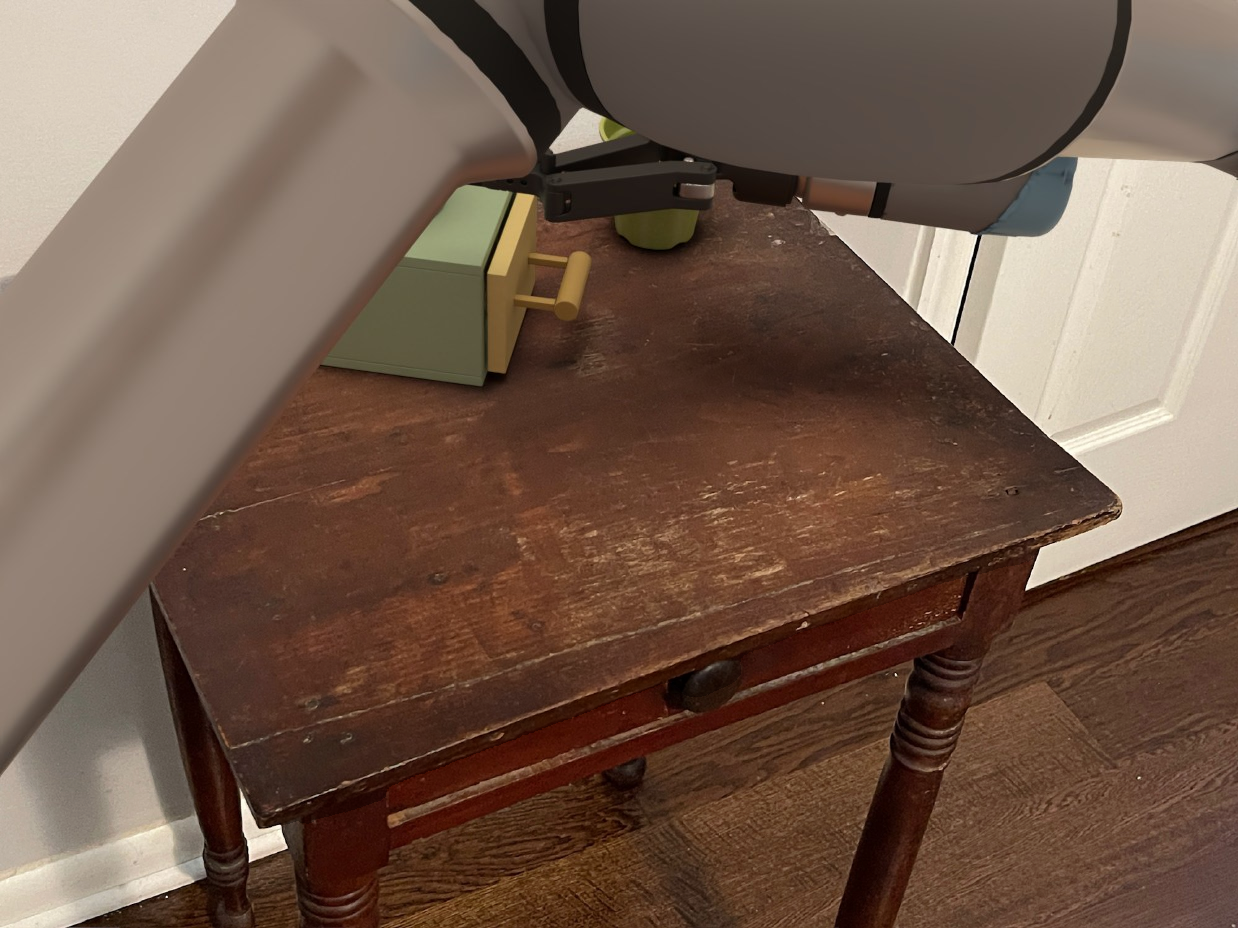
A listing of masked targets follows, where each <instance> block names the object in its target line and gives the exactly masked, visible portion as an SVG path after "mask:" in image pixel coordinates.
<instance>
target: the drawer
mask: <svg viewBox="0 0 1238 928" xmlns="http://www.w3.org/2000/svg"><path fill="white" fill-rule="evenodd" d="M537 225H538V197H537V196H534V195H530V194H522V193H517V195H516V198H515V201H514V203H513V206H512V209H511V211H510V214H509V217H508V219H507V222H506V225H505V227H504V230H503V233H502V235H501V238H500V241H499V230H498V233H497V235H496V238H495V241H494V243H493V246H492V249H491V251H490V254H489V257H488V259H487V262H486V264H485V267H484V270H483V271H484V320H485V317H486V314H487V324H488V371H487V372H492V373H500V374H506V373H507V370H508V367H509V364H510V361H511V358H512V354H513V352H514V349H515V346H516V343H517V339H518V336H519V333H520V330H521V326H522V324H523V320H524V318H525V315H526V312H527V309H534V310H541V311H549V312H554V314H555V316H556V317H557V318H558V319H559V320H561V321H565V322H569V321H570V322H571V321H573V320H575V319H576V318H577V316H579V311H580V307H581V304H582V301H583V297H584V293H585V289H586V286H587V283H588V278H589V274H590V271H591V268H592V264H593V263H592V262H593V261H592V258H591V256H590V255H589V254H588V253H587V252H585V251H583V250H577V251H574V252H572V253H571V254H570V255H569V256H568V257H566V256H558V255H551V254H544V253H537V230H538V229H537V228H538V227H537ZM537 266H541V267H549V268H556V269H564V272H563V277H562V280H561V283H560V287H559V289H558V293H557V298H549V297H542V296H535V295H534V296H533V295H532V293H533V289H534V286H535V284H536V276H537V275H536V273H537V272H536V271H537V269H536V268H537Z"/></svg>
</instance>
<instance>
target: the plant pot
mask: <svg viewBox="0 0 1238 928" xmlns="http://www.w3.org/2000/svg"><path fill="white" fill-rule="evenodd" d="M598 134H599V137H600V139H601V142H605V141H609V140H613V139H617V138H621V137H625V136H629V135H633V134H636V132H633V131H631V130H629V129H627V128H625V127H623V126H621V125H619V124H617V123H615V122H613V121H611V120H609V119H607V118H605V117H603V116H601V118H600V120H599V123H598ZM659 162H661V161H659ZM674 186H675V187H676V184H675V185H674ZM699 212H700V211H699V210H685V209H666V210H658V211H650V212H642V213H634V214H626V215H617V216H614V223H615V224H614V225H615V230H616V233H617V234H618V235H619V236H622V237H624V238H625V239H626V240H627V241H628V242H629V243H630V244H631V245H632V246H636V247H638V248H642V249H648V250H669V249H670V250H671V249H672V248H673V247H675V246H677V245H679V244H682V243H687V242H688V241H690V239H691V238H692V237H693V235H694V233H695V229H696V224H697V220H698V216H699Z"/></svg>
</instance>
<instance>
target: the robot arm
mask: <svg viewBox="0 0 1238 928" xmlns="http://www.w3.org/2000/svg"><path fill="white" fill-rule="evenodd" d="M234 3H235V4H234V5H233V7H232V8H231V9H230V10H229V12H228V13H227V14H226V15H225V16H224V18H223V19H222V20H221V21H220V22H219V24H218V25H217V26H216V28H215V29H214V30H213V31H212V33H211V34H210V35H209V36H208V38H207V39H206V40H205V41H204V43H203V44H202V45H201V46H200V48H198V50H197V51H196V52H195V53H194V55H193V56H192V57H191V59H190V60H189V61H188V62H187V63H186V65H184V67H183V69H182V70H180V72H179V74H178V75H177V76H176V77H175V78H174V79H173V81H172V82H171V83H170V84H169V86H168V87H167V88H166V89H165V91H164V92H163V93H162V94H161V95H160V97H159V98H158V99H157V101H156V102H155V103H154V104H153V106H152V107H151V108H150V109H149V110H148V112H147V113H146V114H145V115H144V117H143V118H142V119H141V120H140V122H139V123H138V124H137V125H136V127H134V129H133V130H132V132H131V133H130V134H129V135H128V136H127V137H126V138H125V140H124V141H123V142H122V144H121V145H120V146H119V148H118V149H117V150H116V151H115V153H114V154H113V155H112V156H111V157H110V159H108V161H107V162H106V163H105V165H104V166H103V167H102V169H100V171H99V172H98V174H97V175H96V176H95V177H94V178H93V180H91V182H90V183H89V184H88V186H87V187H86V188H85V190H84V191H83V192H82V193H81V194H80V196H79V197H78V198H77V199H76V201H75V202H73V204H72V205H71V206H70V208H69V209H68V210H67V212H66V213H65V214H64V216H62V217H61V219H60V220H59V221H58V223H57V224H56V225H55V226H54V227H53V229H52V230H51V231H50V232H49V234H48V235H47V236H46V238H45V239H44V240H43V242H41V244H40V245H39V246H38V247H37V248H36V250H35V251H34V252H33V254H32V255H31V256H30V257H29V259H28V260H27V261H26V262H25V263H24V265H23V266H22V267H21V268H20V269H19V271H18V272H17V273H16V275H14V277H13V278H12V279H11V281H10V282H9V283H8V285H6V286H5V288H4V289H3V291H2V292H1V293H0V778H1V777H2V776H3V774H4V773H5V772H6V771H7V769H8V768H9V767H10V765H11V764H12V762H13V761H14V760H15V759H16V757H17V756H18V755H19V753H20V752H21V751H22V750H23V748H24V747H25V746H26V744H27V743H28V742H29V741H30V740H31V738H32V737H33V736H34V734H35V733H36V732H37V730H38V729H39V728H40V727H41V726H42V724H43V723H44V721H45V720H46V719H47V718H48V716H49V715H50V714H51V712H52V711H53V710H54V708H55V707H56V706H57V705H58V703H59V702H60V701H61V699H63V697H64V695H66V693H67V691H68V690H69V689H70V688H71V686H72V685H73V684H74V683H75V681H76V680H77V679H78V678H79V676H80V675H81V674H82V672H83V671H84V670H85V669H86V667H87V666H88V665H89V663H90V662H91V661H92V659H93V658H94V657H95V655H96V654H97V653H98V652H99V650H100V649H101V648H102V646H103V645H104V644H105V643H106V641H107V640H108V639H109V638H110V636H111V635H112V633H114V631H115V630H116V629H117V627H118V626H119V625H120V624H121V623H122V621H123V620H124V618H125V617H126V616H127V615H128V613H129V612H130V611H131V609H132V608H133V607H134V606H135V604H136V603H137V602H138V600H139V599H140V598H141V596H142V595H143V594H144V592H145V591H146V590H147V588H148V587H149V586H150V585H151V583H153V581H154V580H155V578H156V577H157V576H158V575H159V573H160V572H161V571H162V569H164V567H165V565H166V564H167V563H168V562H169V560H170V559H171V558H172V556H173V555H174V554H175V552H176V551H177V550H178V548H179V547H180V546H181V545H182V543H184V541H185V540H186V539H187V537H188V536H189V535H190V533H191V532H192V530H193V529H194V528H195V527H196V525H197V524H198V523H199V521H200V520H201V519H202V518H203V517H204V515H205V514H206V513H207V511H208V510H209V509H210V508H211V506H212V505H213V504H214V502H215V501H216V500H217V498H219V496H220V494H221V493H222V492H223V491H224V489H225V488H226V487H227V485H228V484H229V483H230V481H231V480H232V479H233V478H234V477H235V475H236V474H237V473H238V471H240V469H241V468H242V466H243V465H244V463H245V462H246V461H247V460H248V458H249V457H250V456H251V454H252V453H253V452H254V451H255V449H256V448H257V447H258V445H259V444H260V443H261V442H262V440H263V439H264V438H265V437H266V435H267V434H268V433H269V432H270V430H271V429H272V427H273V426H274V425H275V424H276V422H277V421H278V420H279V418H280V417H281V416H282V414H283V413H284V412H285V411H286V410H287V408H288V407H289V406H290V405H291V403H292V402H293V401H294V399H295V398H296V397H297V395H298V394H299V393H300V391H301V390H302V388H304V386H305V385H306V384H307V382H308V381H309V380H310V379H311V377H312V376H313V375H314V373H316V371H317V370H318V369H319V367H320V366H321V365H320V364H321V363H322V362H323V360H324V359H325V358H326V357H327V355H328V354H329V353H330V351H331V350H332V349H333V347H334V346H335V345H336V344H337V342H338V341H339V340H340V338H341V337H342V336H343V335H344V333H345V332H346V331H347V329H348V328H349V327H350V326H351V324H352V323H353V322H354V320H355V319H356V318H357V317H358V315H359V314H360V313H361V311H362V310H363V309H364V308H365V306H366V305H367V304H368V302H369V301H370V300H371V299H372V297H373V296H374V295H375V293H376V292H377V291H378V289H379V288H380V287H381V286H382V284H383V283H384V282H385V280H386V279H387V278H388V277H389V275H390V274H391V273H392V271H393V270H394V269H395V268H396V266H397V265H398V264H399V262H400V261H401V260H402V259H403V257H404V256H405V255H406V253H407V252H408V251H409V250H410V248H411V247H412V246H413V244H414V243H415V242H416V241H417V239H418V238H419V237H420V235H421V234H422V233H423V232H424V230H425V229H426V228H427V226H428V225H429V224H430V222H431V221H432V220H433V219H434V217H435V216H436V215H437V213H438V212H439V211H440V210H441V208H442V207H443V206H444V204H445V203H446V202H447V201H448V199H449V198H450V197H451V195H452V194H453V193H454V192H455V190H456V189H458V188H460V187H462V186H465V185H472V186H479V187H486V188H488V189H492V190H501V191H508V192H514V193H522V194H530V195H534V196H537V198H538V201H539V202H540V203H541V204H542V207H543V218H544V221H546V222H548V223H552V224H559V223H567V222H576V221H577V222H578V221H584V220H592V219H600V218H607V217H615V216H617V215H626V214H634V213H642V212H650V211H658V210H666V209H685V210H699V212H700V211H701V212H702V211H703V212H707V211H710V210H711V209H713V206H714V198H715V190H716V182H717V181H725V180H726V181H727V180H728V181H729V182H731V183H732V188H731V193H732V196H733V198H734V199H735V200H736V201H738V202H740V203H741V202H742V203H749V204H757V205H763V206H770V207H771V206H773V207H780V208H786V207H787V205H792V202H793V198H799V199H801V205H802V207H803V209H805V210H809V211H816V212H823V213H824V212H825V213H833V214H835V215H836V216H838V217H846V216H857V217H865V218H866V217H867V218H869V219H880V221H881V220H882V221H887V222H888V221H889V222H894V223H895V222H896V223H904V224H910V225H917V226H924V227H932V228H938V229H944V230H945V229H946V230H951V231H960V232H966V233H969V234H970V235H972V236H973V235H974V236H980V237H981V236H984V235H985V236H996V237H997V236H999V237H1009V238H1010V237H1011V238H1017V237H1023V238H1037V237H1043V236H1045V235H1046V234H1049V233H1050V232H1052V230H1054V229H1055V227H1056V226H1057V225H1058V224H1059V223H1060V221H1061V219H1062V218H1063V215H1064V213H1065V211H1066V209H1067V206H1068V204H1069V201H1070V197H1071V195H1072V190H1073V187H1074V177H1075V173H1076V171H1077V169H1078V162H1079V158H1084V159H1106V160H1107V159H1108V160H1109V159H1110V160H1128V161H1129V160H1131V161H1153V162H1174V163H1175V162H1176V163H1177V162H1178V163H1193V164H1203V165H1206V166H1209V167H1211V168H1213V169H1216V170H1217V171H1218V170H1219V171H1220V172H1223V173H1225V174H1228V175H1230V176H1232V177H1234V178H1235V180H1237V181H1238V0H235V2H234ZM581 109H584V110H587V111H589V112H592V113H593V114H595V115H598V116H600V117H605V118H607V119H609V120H611V121H613V122H615V123H617V124H619V125H621V126H623V127H625V128H627V129H629V130H631V131H633V132H636V134H633V135H629V136H625V137H621V138H617V139H613V140H609V141H605V142H603V141H601V142H598V143H594V144H589V145H585V146H582V147H577V148H574V149H570V150H567V151H566V150H565V151H562V152H557V153H554V151H553V150H552V149H551V148H550V147H551V146H552V145H553V144H554V142H555V141H556V140H557V138H558V137H559V136H560V135H561V134H562V133H563V131H564V130H565V129H566V127H567V126H568V124H569V123H570V122H571V121H572V120H573V118H574V117H575V116H576V115H577V114H578V112H579V111H580V110H581ZM659 161H661V162H659ZM675 184H676V187H675V186H674V185H675ZM567 201H569V202H567Z"/></svg>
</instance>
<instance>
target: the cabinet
mask: <svg viewBox="0 0 1238 928" xmlns="http://www.w3.org/2000/svg"><path fill="white" fill-rule="evenodd" d="M516 195H517V193H514V192H508V191H501V190H492V189H488V188H486V187H479V186H472V185H465V186H462V187H460V188H458V189H456V190H455V192H454V193H453V194H452V195H451V197H450V198H449V199H448V201H447V202H446V203H445V204H444V206H443V207H442V208H441V210H440V211H439V212H438V213H437V215H436V216H435V217H434V219H433V220H432V221H431V222H430V224H429V225H428V226H427V228H426V229H425V230H424V232H423V233H422V234H421V235H420V237H419V238H418V239H417V241H416V242H415V243H414V244H413V246H412V247H411V248H410V250H409V251H408V252H407V253H406V255H405V256H404V257H403V259H402V260H401V261H400V262H399V264H398V265H397V266H396V268H395V269H394V270H393V271H392V273H391V274H390V275H389V277H388V278H387V279H386V280H385V282H384V283H383V284H382V286H381V287H380V288H379V289H378V291H377V292H376V293H375V295H374V296H373V297H372V299H371V300H370V301H369V302H368V304H367V305H366V306H365V308H364V309H363V310H362V311H361V313H360V314H359V315H358V317H357V318H356V319H355V320H354V322H353V323H352V324H351V326H350V327H349V328H348V329H347V331H346V332H345V333H344V335H343V336H342V337H341V338H340V340H339V341H338V342H337V344H336V345H335V346H334V347H333V349H332V350H331V351H330V353H329V354H328V355H327V357H326V358H325V359H324V360H323V362H322V363H321V364H320V366H326V367H335V368H342V369H349V370H357V371H363V372H370V373H371V372H372V373H380V374H387V375H395V376H402V377H407V378H408V377H409V378H415V379H422V380H431V381H439V382H445V383H453V384H459V385H467V386H476V387H483V385H484V383H485V380H486V377H487V375H488V372H489V371H488V324H487V314H486V317H485V320H484V271H483V270H484V267H485V264H486V262H487V259H488V257H489V254H490V251H491V249H492V246H493V243H494V241H495V238H496V235H497V233H498V230H499V241H500V238H501V235H502V233H503V230H504V227H505V225H506V222H507V219H508V217H509V214H510V211H511V209H512V206H513V203H514V201H515V198H516Z"/></svg>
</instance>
